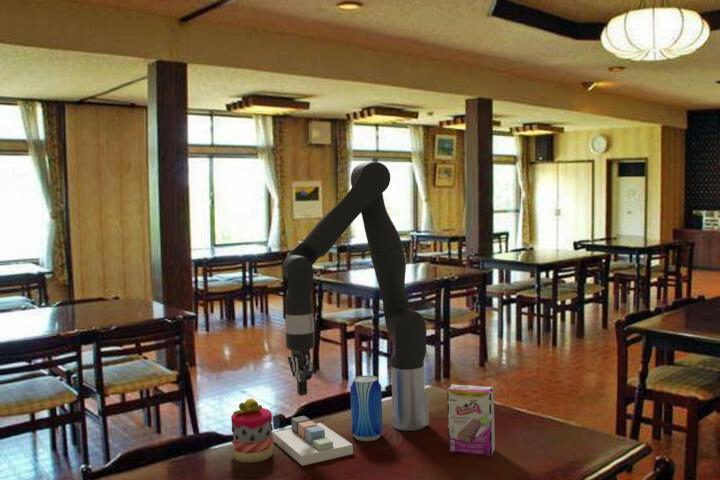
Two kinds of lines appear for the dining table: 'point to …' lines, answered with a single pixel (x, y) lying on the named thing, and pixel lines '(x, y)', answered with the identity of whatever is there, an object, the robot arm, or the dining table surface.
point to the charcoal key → (298, 420)
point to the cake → (252, 432)
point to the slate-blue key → (314, 434)
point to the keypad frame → (311, 446)
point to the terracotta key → (302, 428)
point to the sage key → (322, 444)
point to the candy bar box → (471, 419)
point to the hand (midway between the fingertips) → (302, 394)
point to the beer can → (366, 408)
